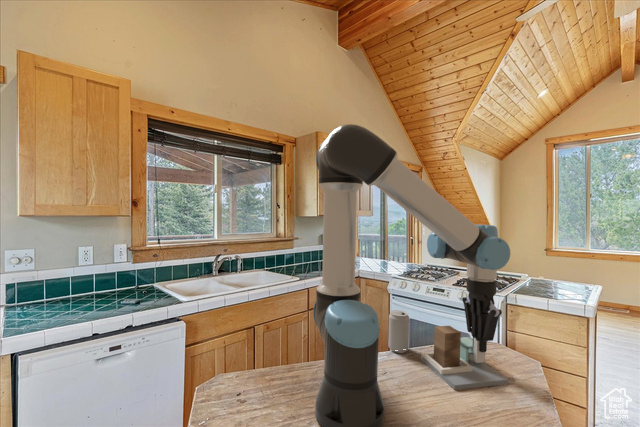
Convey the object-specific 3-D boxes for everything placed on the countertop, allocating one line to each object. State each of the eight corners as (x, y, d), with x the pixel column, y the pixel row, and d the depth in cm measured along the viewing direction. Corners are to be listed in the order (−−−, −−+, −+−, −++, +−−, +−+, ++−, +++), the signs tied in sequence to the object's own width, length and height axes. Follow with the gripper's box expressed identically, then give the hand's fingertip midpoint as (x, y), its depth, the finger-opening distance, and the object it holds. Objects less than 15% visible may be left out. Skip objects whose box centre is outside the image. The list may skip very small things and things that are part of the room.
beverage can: (409, 355, 94) (410, 317, 94) (388, 352, 96) (389, 315, 96) (407, 346, 101) (408, 310, 101) (387, 344, 102) (388, 308, 102)
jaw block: (443, 369, 84) (445, 333, 84) (433, 360, 89) (434, 326, 89) (459, 367, 85) (460, 332, 85) (448, 358, 90) (449, 325, 90)
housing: (465, 363, 87) (466, 346, 87) (452, 353, 93) (453, 337, 93) (482, 361, 89) (483, 345, 89) (468, 352, 94) (469, 336, 94)
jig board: (453, 390, 76) (453, 377, 76) (420, 359, 92) (420, 348, 92) (508, 383, 80) (508, 371, 80) (467, 355, 95) (467, 344, 95)
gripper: (511, 284, 80) (508, 372, 81) (476, 273, 93) (474, 350, 93) (486, 284, 79) (484, 374, 79) (455, 274, 92) (452, 351, 92)
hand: (479, 361), depth 86 cm, fingers closed
